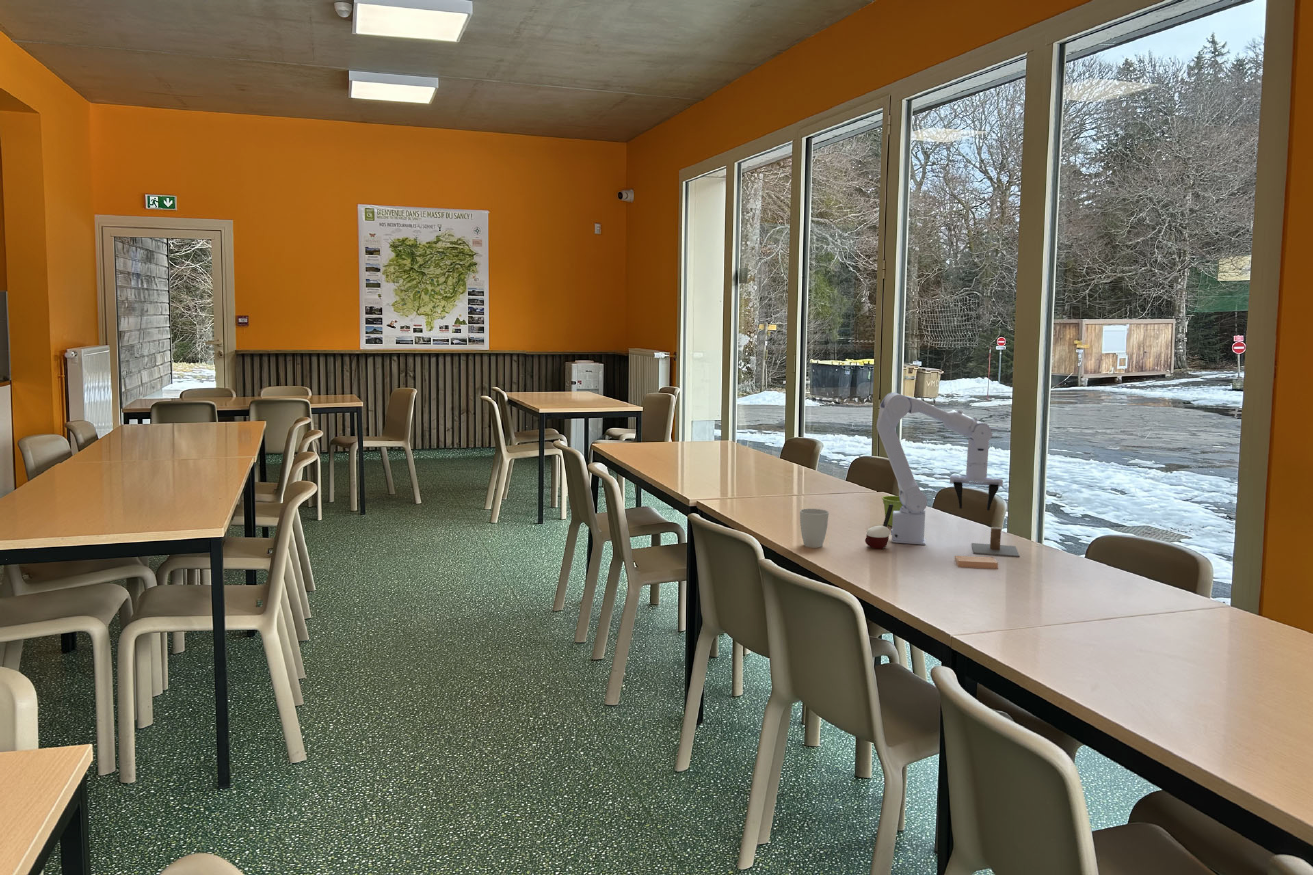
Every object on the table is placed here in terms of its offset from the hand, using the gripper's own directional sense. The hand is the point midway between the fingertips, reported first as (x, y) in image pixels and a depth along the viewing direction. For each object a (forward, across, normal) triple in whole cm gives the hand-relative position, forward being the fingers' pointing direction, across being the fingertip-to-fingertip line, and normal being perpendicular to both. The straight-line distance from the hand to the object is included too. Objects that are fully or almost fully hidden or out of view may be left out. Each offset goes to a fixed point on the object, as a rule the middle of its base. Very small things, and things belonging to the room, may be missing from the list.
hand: (974, 508), depth 277 cm
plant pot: (+10, -23, +18) cm, 31 cm away
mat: (+10, +6, -8) cm, 14 cm away
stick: (+10, +6, -7) cm, 13 cm away
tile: (+10, 0, -24) cm, 26 cm away
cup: (+11, -44, -20) cm, 49 cm away
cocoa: (+10, -26, -15) cm, 32 cm away
